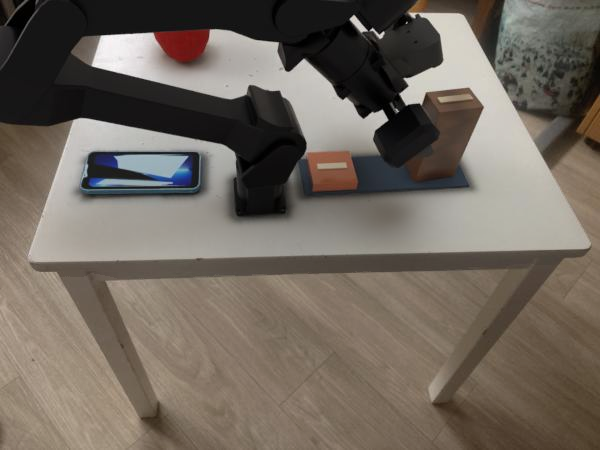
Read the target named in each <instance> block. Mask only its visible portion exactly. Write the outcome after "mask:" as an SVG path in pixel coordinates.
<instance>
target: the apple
mask: <svg viewBox="0 0 600 450" xmlns="http://www.w3.org/2000/svg"><path fill="white" fill-rule="evenodd" d="M210 33H211V30H195V31H177V32H159V33H153V36H154V39H155V41H156V42H157V43H158V45H159V46H160V48H161V50H162V51H163V52H164V54H165V55H166V56H168V57H169V58H170V59H173V60H174V61H177V62H179V63H184V64H185V63H190V62H192V61H194V60H196V59H198V58H200V57H201V56H202V55H203V54H204V52H205V51H206V48H207V45H208V44H209V40H210V35H211V34H210Z"/></svg>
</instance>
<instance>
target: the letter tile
mask: <svg viewBox="0 0 600 450" xmlns="http://www.w3.org/2000/svg"><path fill="white" fill-rule="evenodd" d="M351 157H352V156H351V152H350V150H337V151H335V150H334V151H332V150H331V151H314V152H313V151H312V152H306V158H305V159H306V162H307V167H308V172H309V177H310V182H311V187H312V192H317V191H335V190H354V189H356V188H357V184H358V180H357V176H356V173H355V169H354V166H353V162H352V159H351Z"/></svg>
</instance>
